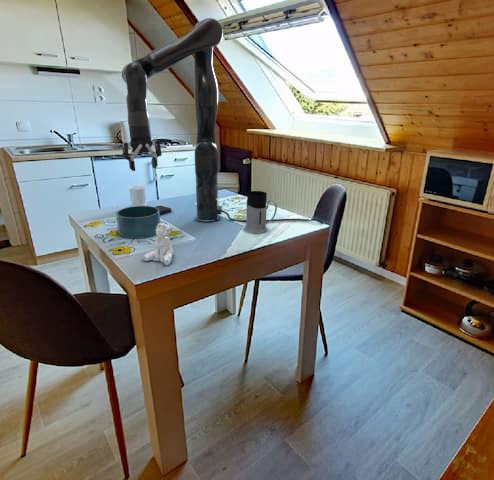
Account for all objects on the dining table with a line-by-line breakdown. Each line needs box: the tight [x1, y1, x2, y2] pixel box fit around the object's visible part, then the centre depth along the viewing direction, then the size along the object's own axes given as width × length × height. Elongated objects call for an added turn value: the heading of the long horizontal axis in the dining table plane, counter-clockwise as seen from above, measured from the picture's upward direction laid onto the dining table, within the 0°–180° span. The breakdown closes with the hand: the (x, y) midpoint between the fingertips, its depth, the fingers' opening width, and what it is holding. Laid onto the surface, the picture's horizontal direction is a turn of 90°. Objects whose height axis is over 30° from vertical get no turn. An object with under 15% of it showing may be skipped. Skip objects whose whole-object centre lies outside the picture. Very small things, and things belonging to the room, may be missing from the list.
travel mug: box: [244, 190, 278, 234], centre depth 135 cm, size 9×14×15 cm, turn 44°
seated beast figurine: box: [143, 222, 174, 266], centre depth 111 cm, size 10×9×12 cm
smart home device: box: [154, 205, 172, 216], centre depth 156 cm, size 8×2×20 cm
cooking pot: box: [115, 205, 161, 239], centre depth 135 cm, size 16×16×8 cm
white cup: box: [128, 185, 147, 207], centre depth 165 cm, size 8×8×10 cm
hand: (144, 169), depth 131 cm, fingers open, 8 cm apart
